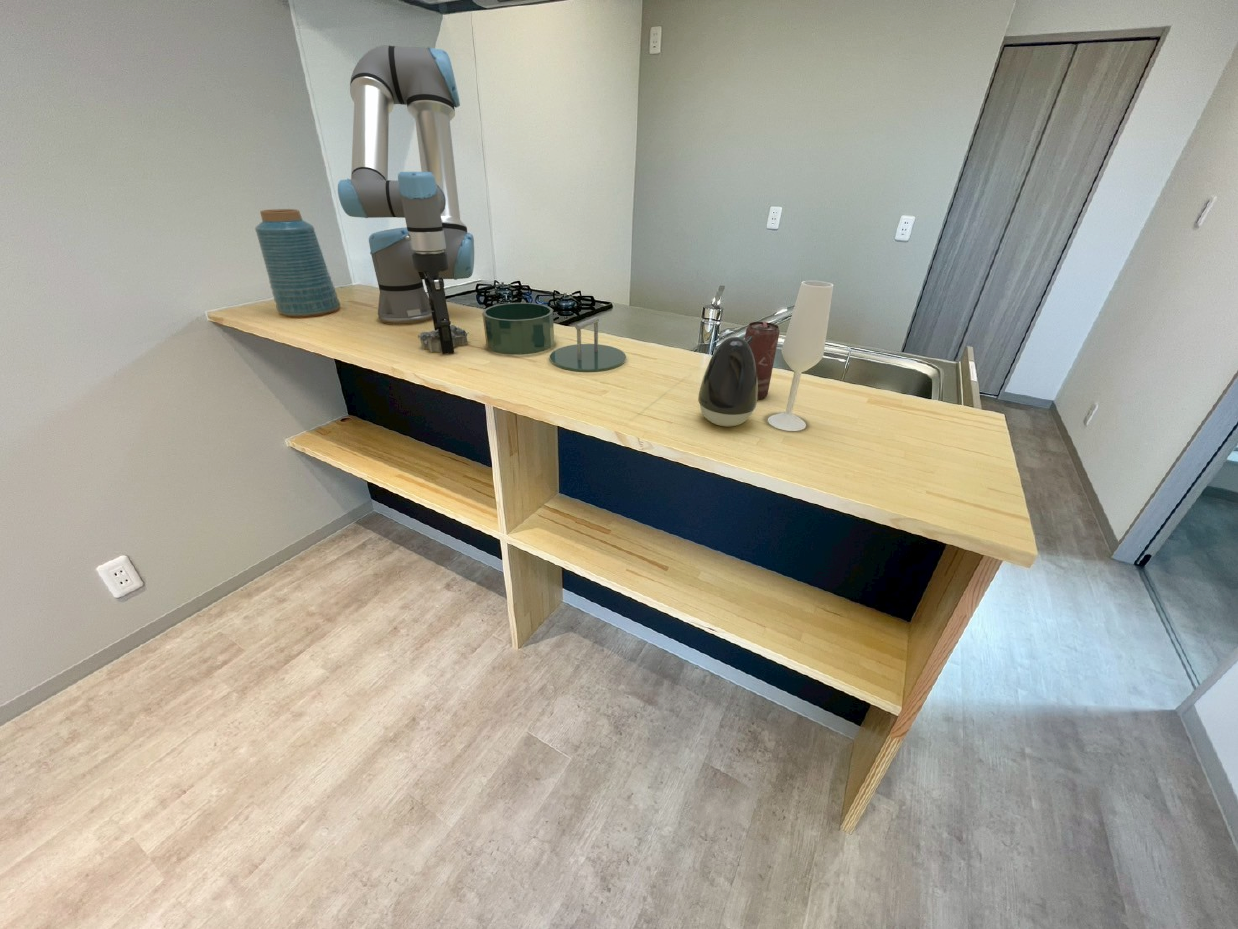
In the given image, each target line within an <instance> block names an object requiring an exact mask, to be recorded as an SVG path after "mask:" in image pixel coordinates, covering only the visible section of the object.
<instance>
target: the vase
mask: <svg viewBox="0 0 1238 929" xmlns="http://www.w3.org/2000/svg"><path fill="white" fill-rule="evenodd" d="M259 214H260V217H261V222H260V223H259V224H257V225H256V226H255V227H254V231H255V233H256V236H257V240H258V244H259V248H260V252H261V255H262V259H263V262H264V265H265V269H266V273H267V276H268V282H269V284H270V289H271V294H272V296H273V300H274V303H275V307H276V308H275V309H276V311H277V312H278V314H281V315H283V316H284V317H288V318H289V317H290V318H298V319H299V318H300V319H301V318H313V317H314V318H315V317H321V316H325V315H329V314H332V313H335V312H336V311H337V310H338V309H339V308H340V306H341V303H340V300H339V298H338V293H337V292H336V287H335V286H334V281H333V280H332V276H331V274H330V272H329V269H328V264H327V262H326V259H325V256H324V253H323V249H322V248H321V245H320V241H319V238H318V235H317V232H316V230H315V226H314V225H313V224H311V223H309V222H307V221H305V219H303V217H302V214H301V211H300V210H299V209H294V208H292V209H291V208H275V209H273V208H272V209H263V210H260V213H259Z"/></svg>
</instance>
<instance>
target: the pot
mask: <svg viewBox="0 0 1238 929" xmlns="http://www.w3.org/2000/svg"><path fill="white" fill-rule="evenodd" d="M481 315H482V322H483V331H484V336H485V338H484V339H485V346H486V349H487V350H490V351H492V352H494V353H498V354H502V355H510V356H511V355H513V356H514V355H517V356H519V355H530V354H531V355H532V354H537V353H543V352H545V351H548V350H550V349H552V348H553V347H554V346H555V323H554V309H553V308H551V307H550V306H548V305H545V304H540V303H536V302H535V303H534V302H533V303H532V302H510V303H501V304H500V303H499V304H495V305H492V306H488V307H487V308H485V309H483V311H482V313H481Z"/></svg>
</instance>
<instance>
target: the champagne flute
mask: <svg viewBox="0 0 1238 929" xmlns="http://www.w3.org/2000/svg"><path fill="white" fill-rule="evenodd" d="M834 286H835V285H834V284H833V283H832V282H827V281H820V280H803V281H801V283H800V286H799V289H798V293H797V297H796V300H795V303H794V306H793V309H792V314H791V317H790V320H789V323H788V327H787V329H786V334H785V336H784V339H783V343H782V346H781V350H780V351H781V352H780V353H781V356H782V358H783V360H784V362H785V363H786V364H787V366H788V367H789V369H791V371H793V376H792V379H791V380H792V381H791V385H790V390H789V394H788V398H787V403H786V407H785V411H784V412H781V413H780V412H779V413H777V414H772V415H770V416H769V417H768V418H767V423H769V425H770V426H772V427H774V428H775V429H779V430H781V431H787V432H799V431H802V430H805V428H806V427H807V424H806V422H805V421H804V419H802V418H800V417H799V416H798V415H796V414H794V413H793V411H794V407H795V403H796V398H797V394H798V389H799V385H800V380H801V376H802V373H804V372H806V371H808V370H809V369H811V368H813V367H815V366H816V365H817V364H818V363H819V362H820V361H821V360H822V359H823V357H824V355H825V348H826V340H827V334H828V327H829V320H830V313H831V306H832V299H833V292H834Z"/></svg>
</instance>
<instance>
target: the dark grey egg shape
mask: <svg viewBox="0 0 1238 929" xmlns="http://www.w3.org/2000/svg"><path fill="white" fill-rule="evenodd" d="M752 341H753V337H752V336H749V337H747V338H746V339H745V338H742V337H739V336H731V337H728V338H725V339H723V340H722V341H721V342H720V344H718V346H717V348H716V349H715V350H714V352H713V354H712V356H711V358H710V360H709V361H708V364H707V367H706V369H705V371H704V373H703V376H702V379H701V383H700V387H699V390H698V395H697V396H698V397H697V402H698V403H699V407H700V408H699V409H700V412H701V413H702V415H703V416H704V418H705V419H706V420H707V421H708V422H710V423H712V424H713V425H716V426H720V427H729V428H730V427H736V426H740V425H741V424H744V422H745V423H746V421H747V420H749V418H750V417H751V416H752V414H753V413H754V412H753V411H754V410H755V409H756V407H757V404H758V400H757V397H758V380H757V370H756V364H755V359H754V355H753V352H752V349H751V347H750V344H751V343H752Z"/></svg>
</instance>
